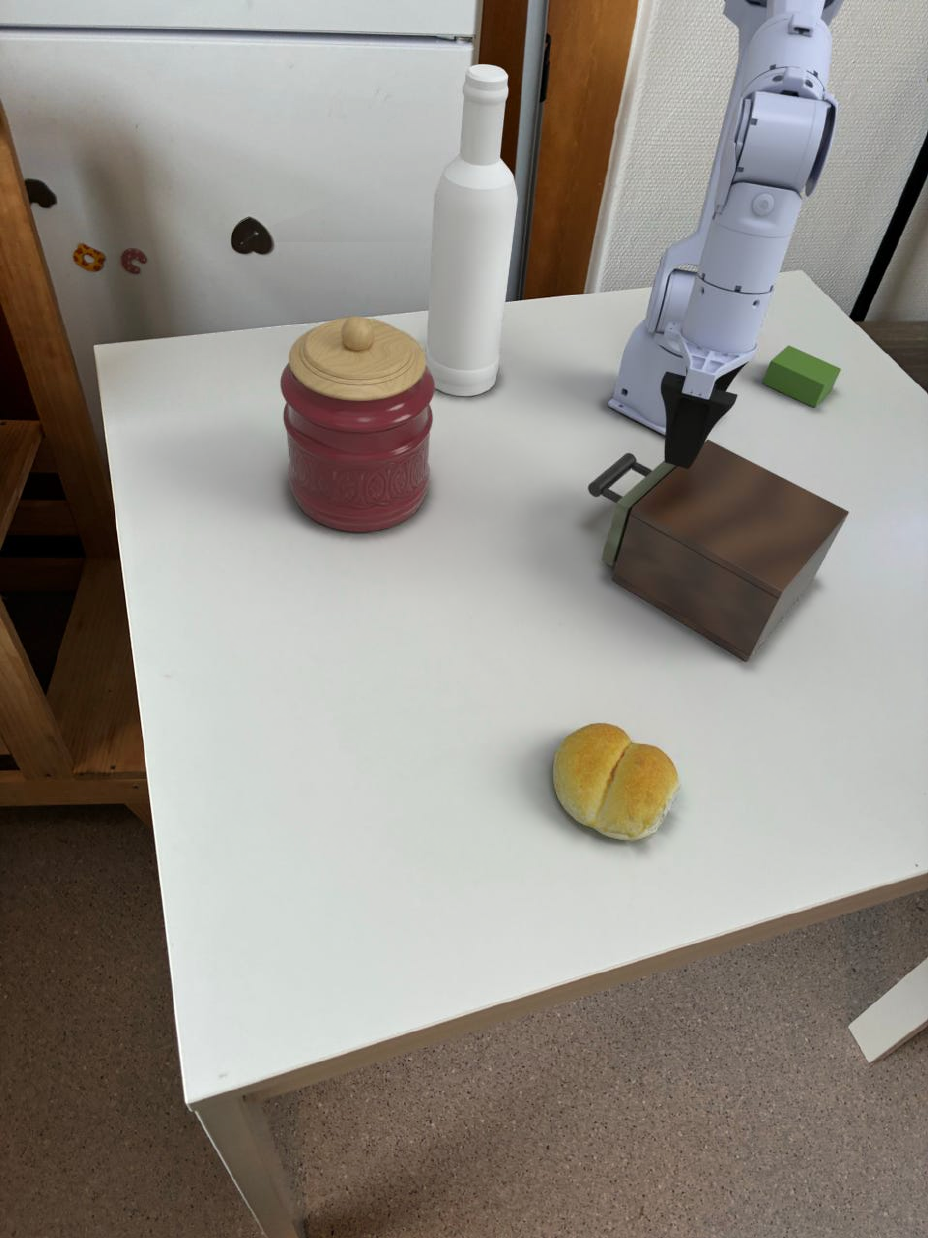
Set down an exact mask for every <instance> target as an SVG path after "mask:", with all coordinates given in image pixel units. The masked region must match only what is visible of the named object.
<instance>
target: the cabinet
mask: <svg viewBox="0 0 928 1238" xmlns="http://www.w3.org/2000/svg"><path fill="white" fill-rule="evenodd" d="M849 514H850V511H849V510H847V509H846V508H845V509H844V508H843V507H841V506H839V505H837V504H835V503H833V502H831V501H829V500H827V499H825V498H823V497H821V496H820V495H817V494H815V493H814V492H812V491H810V490H808V489H806V488H804V487H802V486H800V485H798V484H796V483H794V482H792V481H790V480H788V479H787V478H784V477H782V476H780V475H778V474H777V473H774V472H772V471H771V470H769V469H767V468H765V467H763V466H761V465H759V464H757V463H755V462H753V461H752V460H749V459H747V458H745V457H743V456H742V455H739V454H737V453H735V452H733V451H731V450H730V449H727V448H726V447H724V446H722V445H720V444H719V443H716V442H714V441H712V440H710V439H706V440H705V442H704V444H703V446H702V448H701V450H700V452H699V454H698V456H697V458H696V459H695V461H694V463H693V464H692V466H691V467H690V468H689V469H686V468H682V467H679V466H678V467H677V468H676V469H674V470H673V471H672V472H671V473H670V474H669V475H668V476H667V477H666V478H664V479H663V480H662V481H661V482H660V483H659V484H658V485H657V486H656V487H654V488H653V489H652V490H651V491H650V492H649V493H648V494H647V495H646V496H645V497H643V498H642V499H641V500H640V501H639V502H638V503H637V504H636V505H635V506H633V507H632V511H631V514H630V517H629V521H628V524H627V528H626V531H625V534H624V538H623V541H622V545H621V548H620V552H619V555H618V558H617V562H616V563H615V564H614V569H613V573H612V576H611V581H612V582H615V583H616V584H618V585H619V586H621V587H623V588H625V590H627V591H629V592H630V593H633V594H634V595H636V596H638V597H640V598H641V599H643V600H644V601H646V602H647V603H649V604H651V605H653V606H655V607H656V608H658V609H659V610H661V611H662V612H664V613H666V614H667V615H669V616H671V617H673V618H674V619H675V620H677V621H679V622H680V623H682V624H684V625H685V626H687V627H689V628H690V629H692V630H694V631H696V632H697V633H699V634H700V635H702V636H704V637H705V638H707V639H708V640H710V641H712V642H713V643H715V644H716V645H718V646H720V647H721V648H723V649H725V650H726V651H729V652H730V653H731V654H733V655H735V656H737V657H738V658H740V659H742V660H743V661H745V662H749V661H750V659H751V658H752V657H753V656H754V655H755V653H756V652H757V651H758V649H759V648H760V647H761V646H762V644H763V643H764V642H765V641H766V640H767V638H768V637H769V636H770V634H771V633H772V632H773V631H774V630H775V628H777V626H778V625H779V623H780V622H781V621H782V620H783V618H785V616H786V615H787V613H788V612H789V611H790V610H791V608H792V607H794V605H795V604H796V603H797V601H798V600H799V599H800V597H801V596H802V595H803V594H804V593H805V592H806V590H807V589H808V588H809V586H810V585H811V584H812V582H813V581H814V579H815V577H816V576H817V573H818V572H819V570H820V568H821V566H822V564H823V562H824V560H825V559H826V557H827V555H828V552H829V551H830V550H831V547H832V545H833V543H834V541H835V540H836V538H837V536H838V534H839V532H840V530H841V528H842V527H843V525H844V523H845V521H846V519H847V517H848V515H849Z"/></svg>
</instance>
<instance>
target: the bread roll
mask: <svg viewBox="0 0 928 1238" xmlns="http://www.w3.org/2000/svg"><path fill="white" fill-rule="evenodd" d="M552 783H553V784H552V785H553V787H554V791H555V794H556V797H557V799H558V802H559V803H560V804H561V806H562V808H563V809H564V811H566V813H568V815H570V816H571V817H572V818H573V819H574V820H575V821H576V822H578V823H580V824H582V825H583V826H586V827H590V828H592V829H594V830H595V831H597V832H598V833H600V834H602V835H603V836H604V837H609V838H611V839H615V840H620V841H632V842H634V841H638V840H642V839H644V838H647V837H649V836H651V835H654V834H655V833H656V832H657V830H658V829H659V828H660V826H661V825H662V823H663V822H664V820H665V819H666V818H667V814H668V812H669V811H670V810H671V808H672V807H673V802H674V801H675V799H676V798H677V796H678V793H679V791H680V789H681V787H682V784H681V782H680V780H679V776H678V771H677V768H676V766H675V764H674V762H673V760H672V759H671V758H670V757H669V755H668V754H666V752H665V751H664V750H662V749H661V748H659V747H658V746H655V745H652V744H648V743H637V742H633V740H631V738H630V736H629V735H628V734H627V732H626V731H625V730H624V729H622V727H619V726H618V725H614V724H610V723H605V722H602V723H601V722H596V723H589V724H587V725H585V726H582V727H580V728H578V729H576V730H575V731H573V732H571V733H569V734H568V735H567V736H566V737H565V738H564V739H563V741H561V743H560V744H559V745H558V747H557V749H556V751H555V753H554V758H553V763H552Z"/></svg>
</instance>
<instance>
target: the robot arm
mask: <svg viewBox="0 0 928 1238" xmlns="http://www.w3.org/2000/svg"><path fill="white" fill-rule="evenodd" d="M723 2H724V7H723V10H722V14H723V16H724V17H726V18H727V19H728V21H730V22H731V23H732V24H733V25H735V26H736V28H737V29H738V58H737V64H736V69H735V72H734V77H733V81H732V85H731V89H730V93H729V97H728V101H727V104H726V105H727V106H726V108H725V112H724V118H723V121H722V125H721V130H720V133H719V138H718V142H717V146H716V149H715V154H714V158H713V162H712V166H711V171H710V175H709V178H708V183H707V187H706V190H705V195H704V199H703V204H702V208H701V211H700V214H699V219H698V223H697V227H696V231H695V232H693V233H691V234H689V235H687V236H685V237H684V238H682V239H680V240H678V241H676V242H674V243H672V244H670V245H669V246H667V247H666V250H665V251H664V252H662V254H661V256H660V260H659V264H658V269H657V270H656V273H655V276H654V280H653V283H652V288H651V290H650V291H651V292H650V296H649V299H648V305H647V309H646V314H645V318H644V319H642V321H640V323H639V324H638V325H637V326H636V327H634V330H633V331H632V332H631V335H630V336H629V338H628V340H627V342H626V343H625V344H626V345H625V347H624V350H623V353H622V357H621V361H620V365H619V369H618V374H617V377H616V381H615V386H614V391H613V394H612V398H611V399H609V400H608V402H607V405H608V407H610V408H611V409H614V410H615V411H617V412H619V413H621V414H623V415H625V416H627V417H628V418H631V419H632V420H634V421H637V422H638V423H640V424H642V425H644V426H646V427H648V428H650V429H652V430H653V431H656V432H658V433H660V434H662V436H664V449H663V454H664V455H663V457H664V460H665V463H668V464H672V465H675V466H679V467H682V468H686V469H689V468H690V467H691V466H692V464H693V463H694V461H695V459H696V458H697V456H698V454H699V452H700V450H701V448H702V446H703V444H704V442H705V441H707V440H708V437H709V435H710V434H711V432H712V430H713V429H714V428H715V426H716V425H717V424H718V422H719V421H720V420H721V419H722V418H723V417H724V416H725V415H726V414H727V413H728V412H729V411H730V410H731V409H732V408H733V407H734V405H735V403H736V401H737V398H738V396H739V394H737V393H733V392H730V391H727V390H728V389H729V387H730V385H731V384H732V382H733V381H734V380H735V378H736V377H737V376H738V374H739V373H740V372H741V371H742V369H744V367H745V366H746V365H747V364H749V362H750V361H751V360H753V359H754V358H755V356H756V353H757V351H758V343H757V342H758V339H759V336H760V333H761V329H762V327H763V325H764V321H765V318H766V314H767V312H768V309H769V306H770V302H771V299H772V296H773V294H774V291H775V287H776V284H777V280H778V279H779V275H780V272H781V269H782V266H783V263H784V261H785V256H786V253H787V251H788V249H789V245H790V242H791V239H792V237H793V233H794V231H795V228H796V225H797V220H798V217H799V215H800V212H801V209H802V206H803V203H804V199H803V196H802V194H801V193H802V192H803V190H804V194H805V197H807V198H809V197H811V196H812V194H813V193H814V191H815V189H816V187H817V186H818V183H819V181H820V179H821V178H822V175H823V172H824V170H825V168H826V165H827V163H828V160H829V158H830V154H831V151H832V147H833V143H834V139H835V136H836V135H835V134H836V129H837V123H838V113H839V101H838V100H837V98H836V99H835V93H831V92H828V88H829V82H830V81H829V80H830V71H831V63H832V56H833V55H832V54H833V48H834V47H833V46H834V44H833V42H834V41H833V36H832V34H831V30H830V25H831V23H832V21H833V20H834V19H835V18H836V17H837V16H838V14H839V12H840V10H841V8H842V6H843V4H844V2H845V0H723ZM804 188H805V189H804ZM681 265H689V266H694V267H697V271H694V270H687V269H683V268H682V269H681V268H678V267H679V266H681Z"/></svg>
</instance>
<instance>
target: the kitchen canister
mask: <svg viewBox="0 0 928 1238" xmlns="http://www.w3.org/2000/svg"><path fill="white" fill-rule="evenodd" d="M279 383H280V384H279V385H280V391H281V394H282V397H283V398H284V401H285V402H286V403H285V405H284V408H283V413H282V414H283V415H282V418H283V426H284V428H285V430H286V436H287V437H286V438H287V439H286V440H287V448H288V449H287V450H288V460H289V461H288V468H287V470H288V471H287V472H288V482H289V486H290V489H291V491H292V493H293V497H294V500H295V501H296V503H297V505H298V507H299V508H300V509H301V510H302V512H304V513H305V514H306V516H308V517H309V518H310V519H312V520H314V521H316V522H318V523H319V524H321V525H324V526H326V527H329V528H332V529H336V530H340V531H344V532H345V531H346V532H358V533H359V532H360V533H361V532H363V533H364V532H374V531H380V530H385V529H388V528H391V527H394V526H396V525H398V524H400V523H402V522H404V521H406V520H407V519H409V518H410V517H411V516H413V515H414V514H415V513H416V512H417V510H418V509H420V507H421V506H422V504H423V501H424V499H425V496H426V493H427V491H428V488H429V484H430V472H431V471H430V463H429V454H430V440H431V439H430V438H431V437H430V436H431V430H432V428H433V422H434V415H433V410H432V406H431V402H432V400H433V397H434V395H435V390H436V388H435V383H434V378H433V375H432V373H431V371H430V369H429V368H428V367H427V365H426V356H425V351H424V348H423V346H422V345H421V344H420V343H419V342H418V340H417V339H415V338H414V337H413V336H412V335H410V334H409V333H407V332H405V331H404V330H402V329H399V328H397V327H396V326H394V325H391V324H389V323H387V322H385V321H382V320H378V319H375V318H369V317H363V316H361V315H360V316H359V315H355V316H351V317H341V318H337V319H332V320H329V321H327V322H324V323H321V324H320V325H318V326H316V327H313V328H311V329H309V330H308V331H305V332H304V333H302V334H301V335H300V336H299V337H297V338H296V340H295V341H294V342H293V343H292V344H291V346H290V350H289V353H288V363H287V364H286V365H285V367H284V368H283V371H282V373H281V376H280V381H279Z"/></svg>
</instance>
